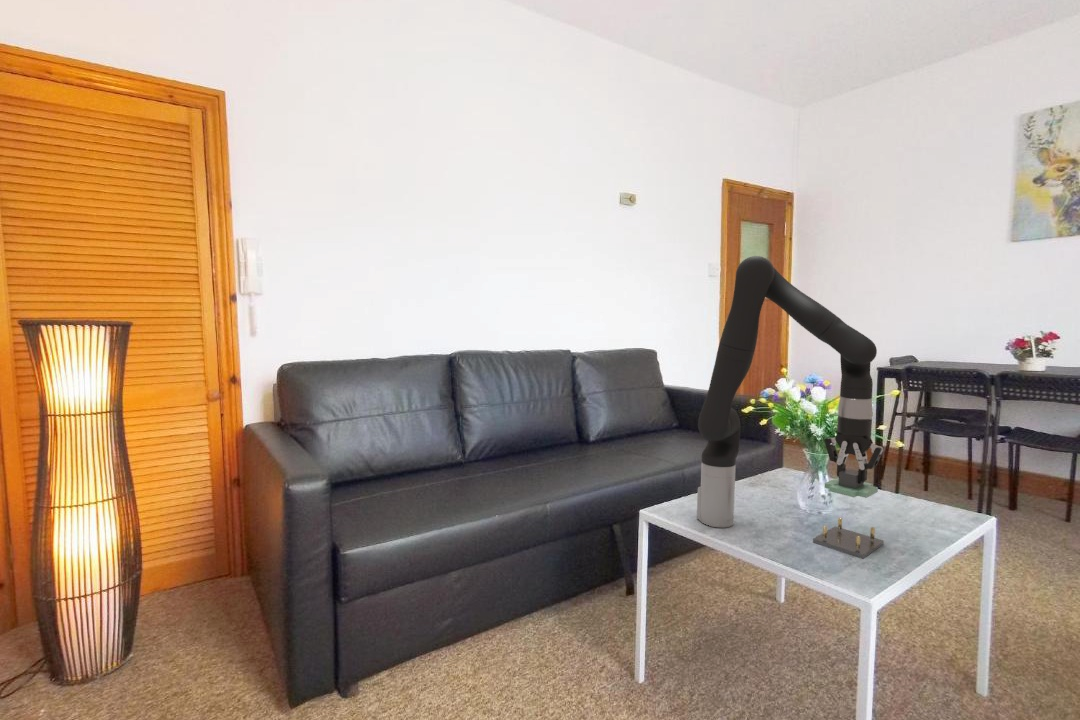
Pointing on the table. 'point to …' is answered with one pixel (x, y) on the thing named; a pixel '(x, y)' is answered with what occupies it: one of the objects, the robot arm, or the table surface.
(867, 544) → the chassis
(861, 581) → the table surface
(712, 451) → the robot arm
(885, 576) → the table surface
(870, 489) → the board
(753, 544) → the table surface
